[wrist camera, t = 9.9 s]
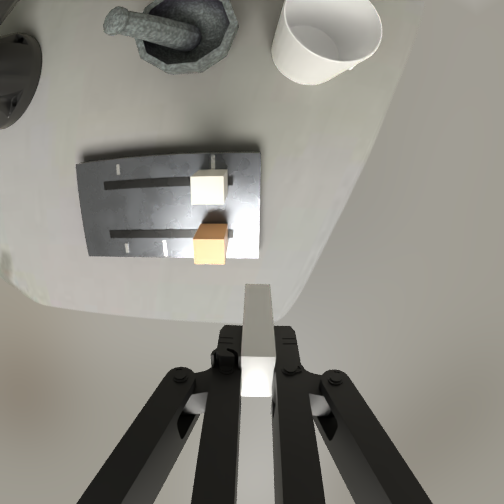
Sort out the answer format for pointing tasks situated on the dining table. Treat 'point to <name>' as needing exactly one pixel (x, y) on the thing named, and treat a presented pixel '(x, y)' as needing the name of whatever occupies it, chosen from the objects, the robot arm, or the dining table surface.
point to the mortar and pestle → (178, 32)
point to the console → (166, 204)
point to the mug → (324, 38)
